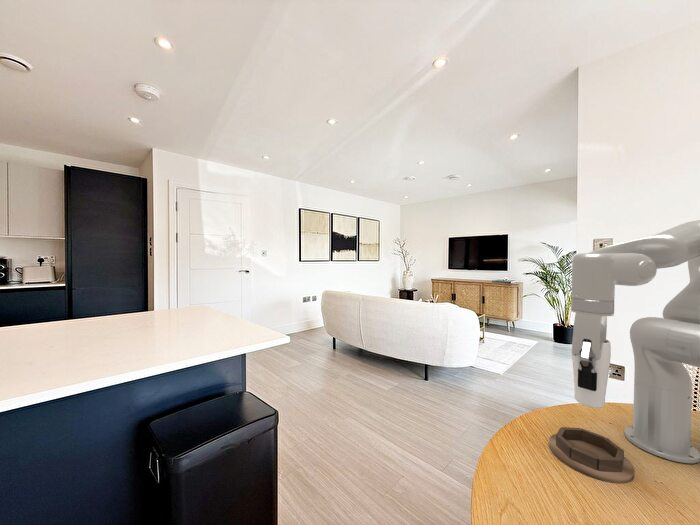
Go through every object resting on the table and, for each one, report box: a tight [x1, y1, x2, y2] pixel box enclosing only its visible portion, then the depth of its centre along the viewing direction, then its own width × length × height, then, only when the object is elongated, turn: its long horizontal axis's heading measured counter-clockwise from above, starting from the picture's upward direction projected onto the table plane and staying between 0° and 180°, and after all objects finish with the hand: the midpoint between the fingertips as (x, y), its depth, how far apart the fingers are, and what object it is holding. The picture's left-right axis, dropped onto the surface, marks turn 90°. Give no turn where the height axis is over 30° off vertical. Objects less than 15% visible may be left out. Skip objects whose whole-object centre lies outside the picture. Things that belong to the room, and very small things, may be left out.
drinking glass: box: [571, 339, 612, 409], centre depth 65 cm, size 7×7×15 cm
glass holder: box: [548, 426, 635, 484], centre depth 65 cm, size 15×15×4 cm
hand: (589, 383), depth 65 cm, fingers closed on drinking glass, 6 cm apart
